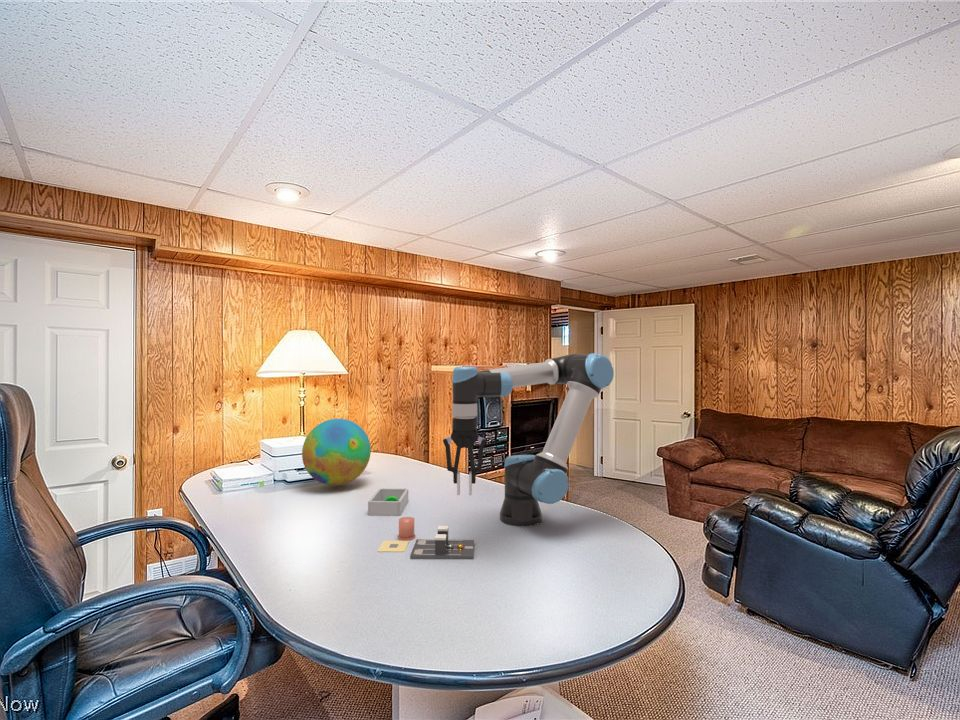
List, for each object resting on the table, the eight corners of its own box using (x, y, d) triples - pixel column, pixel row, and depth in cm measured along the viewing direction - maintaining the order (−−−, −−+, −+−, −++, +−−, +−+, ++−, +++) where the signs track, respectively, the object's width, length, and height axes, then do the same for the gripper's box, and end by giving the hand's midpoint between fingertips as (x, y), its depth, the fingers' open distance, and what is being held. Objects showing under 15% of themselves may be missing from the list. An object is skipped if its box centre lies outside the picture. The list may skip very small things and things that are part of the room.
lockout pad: (409, 542, 146) (409, 540, 146) (404, 553, 138) (404, 551, 138) (383, 542, 147) (383, 540, 147) (377, 553, 139) (377, 550, 139)
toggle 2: (446, 549, 137) (446, 534, 137) (445, 554, 134) (445, 538, 134) (436, 549, 137) (436, 534, 137) (435, 554, 134) (435, 538, 134)
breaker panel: (474, 544, 145) (474, 537, 145) (473, 561, 133) (473, 553, 133) (416, 544, 145) (416, 536, 145) (410, 560, 133) (410, 552, 133)
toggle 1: (448, 540, 144) (448, 525, 144) (447, 544, 141) (447, 529, 141) (438, 540, 144) (438, 525, 144) (437, 544, 141) (437, 529, 141)
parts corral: (408, 500, 190) (408, 488, 190) (400, 515, 172) (400, 502, 172) (379, 500, 190) (379, 488, 190) (367, 515, 172) (367, 501, 172)
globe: (288, 491, 202) (288, 422, 202) (322, 474, 231) (322, 414, 231) (353, 495, 197) (353, 424, 197) (380, 477, 226) (380, 415, 226)
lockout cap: (416, 534, 153) (416, 516, 153) (413, 541, 148) (413, 522, 148) (399, 534, 153) (399, 516, 153) (396, 541, 148) (396, 522, 148)
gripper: (490, 415, 146) (490, 490, 146) (439, 415, 146) (439, 490, 146) (491, 418, 139) (490, 497, 139) (437, 418, 139) (436, 497, 139)
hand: (464, 493), depth 143 cm, fingers open, 3 cm apart
